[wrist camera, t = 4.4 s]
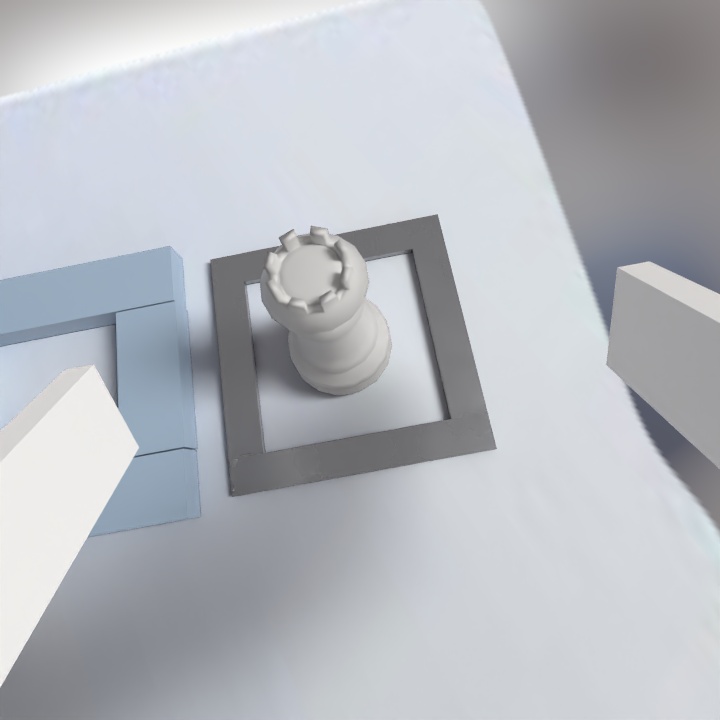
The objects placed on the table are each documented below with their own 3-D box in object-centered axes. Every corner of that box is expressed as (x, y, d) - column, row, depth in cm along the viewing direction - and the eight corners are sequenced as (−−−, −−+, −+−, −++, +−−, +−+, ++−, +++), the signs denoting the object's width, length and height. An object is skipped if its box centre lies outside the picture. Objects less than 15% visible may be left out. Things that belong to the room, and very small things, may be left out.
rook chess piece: (320, 288, 21) (274, 175, 13) (408, 323, 20) (414, 226, 12) (276, 373, 20) (199, 306, 12) (366, 414, 19) (345, 370, 11)
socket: (-74, 565, 19) (-105, 571, 18) (-52, 305, 22) (-77, 295, 21) (202, 516, 18) (189, 518, 17) (183, 258, 22) (171, 245, 21)
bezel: (234, 496, 19) (232, 496, 18) (213, 262, 22) (210, 259, 21) (494, 449, 18) (496, 448, 18) (436, 217, 21) (437, 214, 21)
